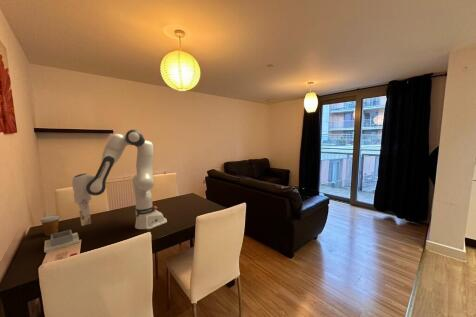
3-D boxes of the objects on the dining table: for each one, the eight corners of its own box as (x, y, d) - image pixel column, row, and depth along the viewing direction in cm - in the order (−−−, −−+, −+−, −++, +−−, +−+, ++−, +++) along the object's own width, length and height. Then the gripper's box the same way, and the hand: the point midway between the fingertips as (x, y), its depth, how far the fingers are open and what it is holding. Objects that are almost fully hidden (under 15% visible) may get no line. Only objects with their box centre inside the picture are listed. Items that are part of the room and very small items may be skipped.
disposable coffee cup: (55, 229, 144) (54, 213, 143) (63, 231, 141) (62, 215, 139) (38, 235, 135) (37, 218, 134) (47, 238, 132) (45, 220, 131)
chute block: (90, 221, 136) (88, 208, 135) (91, 223, 133) (89, 210, 132) (81, 223, 133) (79, 210, 132) (81, 225, 129) (80, 212, 128)
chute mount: (77, 234, 136) (76, 226, 136) (79, 242, 125) (78, 234, 125) (45, 243, 125) (44, 234, 125) (44, 252, 114) (43, 243, 114)
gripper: (91, 200, 125) (93, 221, 127) (86, 194, 140) (89, 213, 142) (78, 203, 121) (81, 224, 123) (75, 196, 136) (78, 215, 138)
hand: (85, 218), depth 133 cm, fingers closed on chute block, 5 cm apart
